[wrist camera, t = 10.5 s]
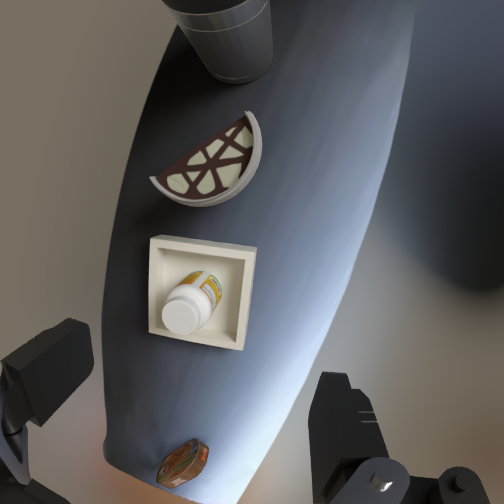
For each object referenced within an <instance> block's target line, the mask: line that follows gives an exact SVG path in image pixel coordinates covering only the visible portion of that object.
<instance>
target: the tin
mask: <svg viewBox="0 0 504 504" xmlns="http://www.w3.org/2000/svg"><path fill="white" fill-rule="evenodd" d="M208 453H209V448H208V446H207V445H205V444H203V443H202V442H200V441H199V440H197V439H192V440H190V441H189V442H187V443H186V444H185V445H183V446H182V447H180V448H179V449H177V450H175V451H174V452H172V453H171V454H170V455H168V456H167V458H166V459H165V460H164V461H163V463H162V464H161V466H160V468H159V470H158V473H157V477H156V482H157V483H158V484H161V485H163V486H165V487H167V488H170V489H171V488H174V487H177V486H179V485H181V484H183V483H185V482H187V481H189V480H191V479H193V478H195V477H196V476H198V475H199V474H200V473H201V471H202V470H203V468H204V467H205V465H206V463H207V458H208Z"/></svg>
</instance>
